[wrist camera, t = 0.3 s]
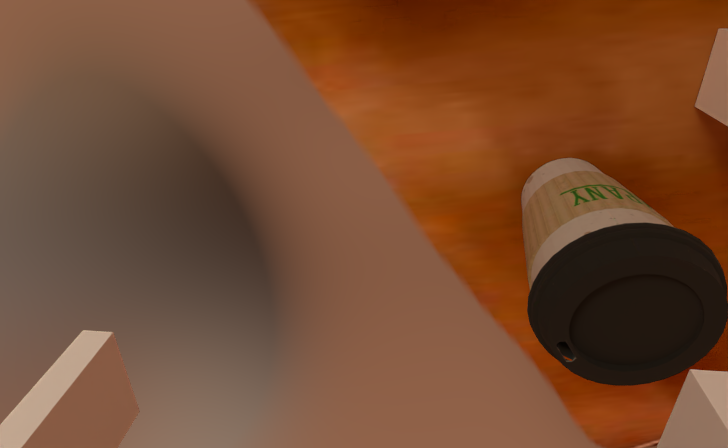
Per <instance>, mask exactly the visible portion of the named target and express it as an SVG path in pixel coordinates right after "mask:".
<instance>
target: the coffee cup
mask: <svg viewBox="0 0 728 448" xmlns="http://www.w3.org/2000/svg"><path fill="white" fill-rule="evenodd" d="M521 203H522V211H523V216H522V229H523V238H524V247H525V256H526V266H527V275H528V282H529V287H530V293H529V296H528V309H527V312H528V317H529V322H530V325H531V327H532V329H533V331H534V333H535V335H536V337H537V338H538V340H539V342H540V343H541V344H542V345H543V347H544V348H545V349H546V350H547V351H548V352H549V353H550V354H551V355H552V356H554V357H555V358H556V359H557V360H559V361H560V362H561V363H562V364H563V365H564V366H565V367H566V368H568V369H569V370H570V371H572V372H573V373H575V374H577V375H579V376H581V377H583V378H585V379H587V380H591V381H594V382H597V383H602V384H609V385H638V384H646V383H651V382H655V381H659V380H662V379H665V378H668V377H670V376H673V375H675V374H678V373H680V372H682V371H684V370H685V369H687V368H689V367H690V366H692V365H694V364H695V363H696V362H698V361H699V360H700V359H701V358H703V357H704V356H705V355H706V354H707V353H708V352H709V351H710V350H711V349H712V348H713V347H714V346H715V344H716V343H717V342H718V340H719V338H720V336H721V335H722V333H723V331H724V328H725V325H726V322H727V319H728V303H727V284H726V280H725V276H724V273H723V269H722V268H721V265H720V263H719V262H718V260H717V258H716V257H715V255H714V253H713V252H712V250H711V249H710V248H709V247H707V246H706V245H705V244H704V243H703V242H702V241H701V240H700V239H698V238H697V237H695V236H693V235H691V234H690V233H688V232H686V231H684V230H681V229H678V228H675V227H674V226H673V225H672V224H670V223H669V222H668V221H667V220H666V219H665V218H664V217H662V216H661V215H660V214H659V213H657V212H656V211H655V210H653V209H652V208H651V207H650V206H648V205H647V204H646V203H644V202H643V201H642V200H641V199H639V198H638V197H637V196H635V195H634V194H633V193H631V192H630V191H629V190H628V189H626V188H625V187H624V186H622V185H621V184H620V183H619V182H617V181H616V180H615V179H613V178H611V177H609V176H607V175H605V174H604V173H602V172H601V171H600V170H599V169H597V168H596V167H595V166H594V165H592V164H590V163H588V162H587V161H584V160H581V159H575V158H562V159H558V160H553V161H551V162H549V163H546V164H544V165H543V166H541V167H540V168H538V169H537V170H536V171H535V172H534V173H532V175H531V176H530V177H529V178H528V180H527V181H526V183H525V185H524V187H523V191H522V196H521ZM563 355H564V356H566V357H568V358H570V359H572V361H569V360H567V359H565V358H564V357H563Z"/></svg>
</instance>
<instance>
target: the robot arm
mask: <svg viewBox="0 0 728 448" xmlns="http://www.w3.org/2000/svg"><path fill="white" fill-rule="evenodd" d="M138 413H139V408H138V405H137V402H136V399H135V396H134V393H133V390H132V387H131V384H130V381H129V378H128V375H127V372H126V369H125V366H124V363H123V360H122V357H121V354H120V351H119V348H118V345H117V342H116V339H115V337H114V334H113V332H102V331H85V330H83V331H82V332H81V333H80V334H79V336H78V337H77V338H76V339H75V340H74V341H73V342H72V344H71V345H70V346H69V347H68V348H67V349H66V350H65V352H64V353H63V354H62V355H61V356H60V357H59V358H58V359H57V361H56V362H55V363H54V364H53V365H52V367H50V369H49V370H48V371H47V372H46V373H45V374H44V375H43V377H42V378H41V379H40V380H39V381H38V383H36V385H35V386H34V387H33V388H32V389H31V390H30V391H29V393H28V394H27V395H26V396H25V397H24V398H23V399H22V401H21V402H20V403H19V404H18V405H17V406H16V407H15V409H14V410H13V411H12V412H11V413H10V414H9V415H8V417H7V418H6V419H5V420H4V421H3V422H2V423H1V425H0V448H118V446H119V444H120V443H121V441H122V439H123V438H124V436H125V434H126V433H127V431H128V429H129V428H130V426H131V425H132V423H133V421H134V419H135V418H136V416H137V415H138ZM657 448H728V372H723V371H707V370H691V369H690V370H689V373H688V375H687V377H686V380H685V382H684V384H683V387H682V389H681V391H680V394H679V396H678V398H677V401H676V403H675V406H674V408H673V410H672V413H671V415H670V417H669V420H668V422H667V424H666V427H665V429H664V431H663V434H662V436H661V439H660V441H659V443H658V446H657Z"/></svg>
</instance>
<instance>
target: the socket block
mask: <svg viewBox="0 0 728 448" xmlns="http://www.w3.org/2000/svg"><path fill="white" fill-rule="evenodd" d="M695 107H696V108H698V109H700V110H701V111H703V112H705V113H706V114H708V115H710V116H711V117H713V118H715V119H716V120H718V121H720V122H721V123H723V124H725V125H726V126H728V28H722V29H718V32H717V35H716V38H715V42H714V45H713V48H712V51H711V55H710V58H709V61H708V64H707V68H706V71H705V74H704V77H703V81H702V84H701V87H700V90H699V94H698V97H697V100H696V103H695Z"/></svg>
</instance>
